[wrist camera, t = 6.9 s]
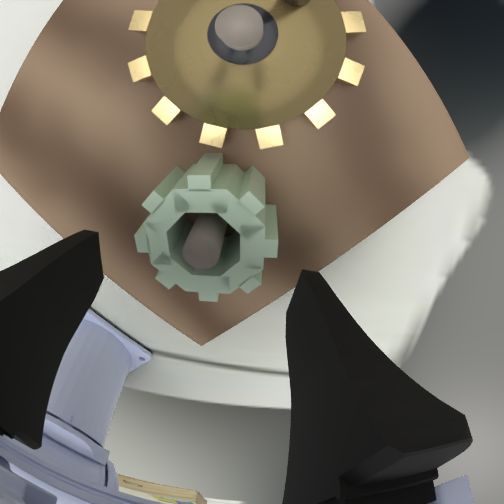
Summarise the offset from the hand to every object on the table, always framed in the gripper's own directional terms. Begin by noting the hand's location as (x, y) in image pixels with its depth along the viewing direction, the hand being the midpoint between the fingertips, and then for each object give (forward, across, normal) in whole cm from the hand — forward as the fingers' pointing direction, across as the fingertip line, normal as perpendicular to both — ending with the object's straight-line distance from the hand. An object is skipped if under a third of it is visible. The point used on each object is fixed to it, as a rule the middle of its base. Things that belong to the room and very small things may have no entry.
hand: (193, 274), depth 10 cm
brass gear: (+5, 0, -8) cm, 9 cm away
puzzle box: (+7, +13, +98) cm, 99 cm away
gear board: (+6, +2, -4) cm, 7 cm away
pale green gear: (+5, 0, 0) cm, 5 cm away
